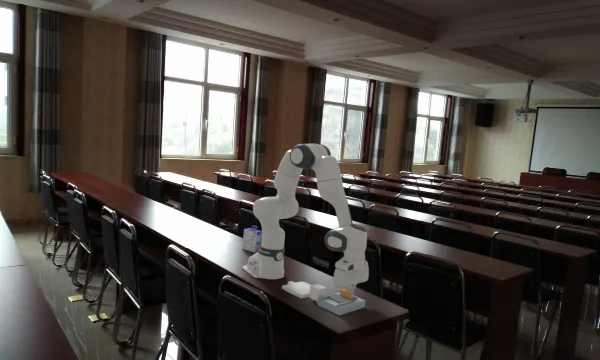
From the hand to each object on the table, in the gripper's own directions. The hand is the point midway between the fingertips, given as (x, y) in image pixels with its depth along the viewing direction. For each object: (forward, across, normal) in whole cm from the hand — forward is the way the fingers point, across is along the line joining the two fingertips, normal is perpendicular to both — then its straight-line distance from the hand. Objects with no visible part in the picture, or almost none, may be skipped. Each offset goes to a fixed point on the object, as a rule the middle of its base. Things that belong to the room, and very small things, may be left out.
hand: (349, 293), depth 186 cm
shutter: (+1, +6, 0) cm, 6 cm away
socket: (+4, +5, 0) cm, 7 cm away
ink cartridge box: (+5, -13, -84) cm, 85 cm away
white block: (+4, +11, -9) cm, 15 cm away
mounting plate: (+5, +8, -21) cm, 23 cm away
